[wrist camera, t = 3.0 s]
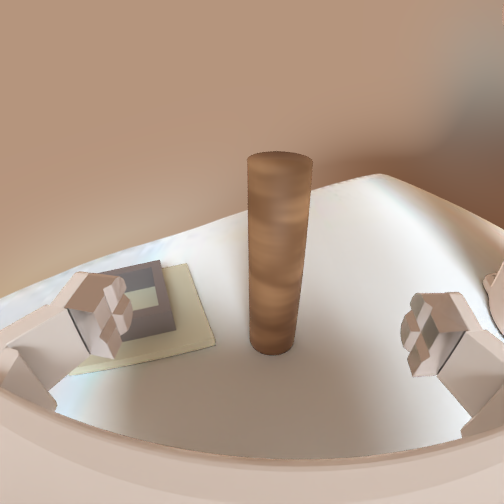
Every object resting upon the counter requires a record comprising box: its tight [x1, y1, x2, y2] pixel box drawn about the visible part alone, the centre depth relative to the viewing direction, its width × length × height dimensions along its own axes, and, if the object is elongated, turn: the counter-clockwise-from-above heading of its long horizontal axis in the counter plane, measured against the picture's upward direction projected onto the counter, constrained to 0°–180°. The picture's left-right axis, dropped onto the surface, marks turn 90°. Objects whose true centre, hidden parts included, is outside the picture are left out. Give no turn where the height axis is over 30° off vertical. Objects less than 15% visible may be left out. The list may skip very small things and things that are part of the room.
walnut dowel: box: [247, 151, 313, 355], centre depth 22 cm, size 4×4×16 cm
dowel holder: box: [69, 260, 215, 376], centre depth 28 cm, size 14×12×4 cm
